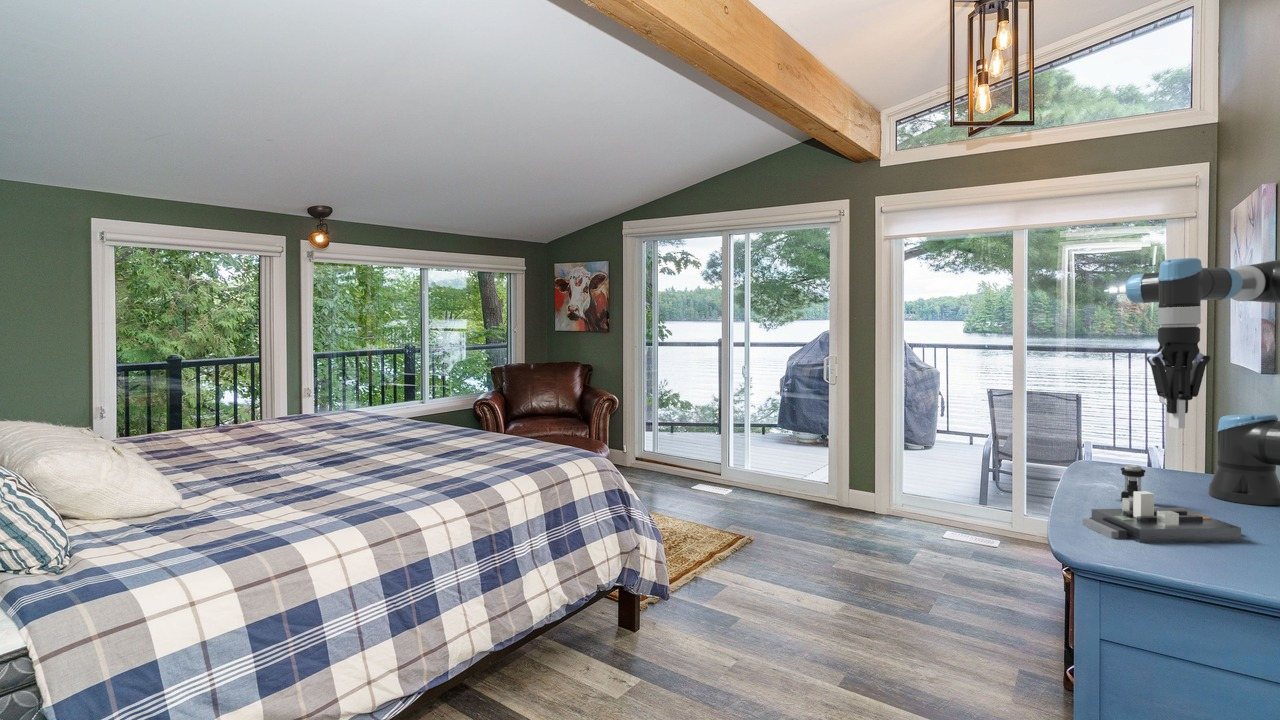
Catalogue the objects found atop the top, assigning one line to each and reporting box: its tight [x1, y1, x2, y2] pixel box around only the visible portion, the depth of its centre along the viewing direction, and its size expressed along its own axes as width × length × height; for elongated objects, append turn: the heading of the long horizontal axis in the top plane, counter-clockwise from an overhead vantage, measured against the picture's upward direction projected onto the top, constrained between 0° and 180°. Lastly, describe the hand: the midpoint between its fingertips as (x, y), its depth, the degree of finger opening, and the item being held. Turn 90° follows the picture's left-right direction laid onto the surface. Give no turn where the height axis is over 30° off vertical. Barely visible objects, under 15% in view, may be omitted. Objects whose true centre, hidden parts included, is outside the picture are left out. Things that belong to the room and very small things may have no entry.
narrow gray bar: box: [1082, 517, 1128, 539], centre depth 152 cm, size 3×10×2 cm, turn 178°
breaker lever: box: [1133, 490, 1155, 518], centre depth 151 cm, size 3×2×6 cm
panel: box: [1091, 498, 1242, 544], centre depth 151 cm, size 22×16×6 cm
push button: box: [1114, 464, 1146, 502], centre depth 175 cm, size 7×5×10 cm
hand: (1176, 427), depth 150 cm, fingers closed
